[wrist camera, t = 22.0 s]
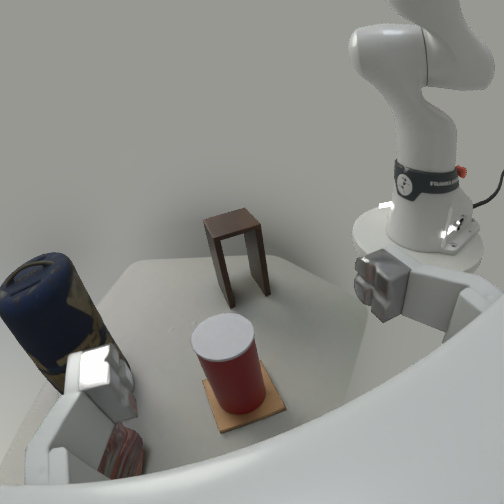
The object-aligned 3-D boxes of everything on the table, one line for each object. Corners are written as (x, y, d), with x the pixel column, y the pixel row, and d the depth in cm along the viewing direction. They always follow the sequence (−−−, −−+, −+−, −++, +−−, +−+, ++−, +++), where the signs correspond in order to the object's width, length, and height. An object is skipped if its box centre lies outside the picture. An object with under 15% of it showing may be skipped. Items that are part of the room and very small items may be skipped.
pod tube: (255, 367, 32) (241, 305, 27) (274, 404, 28) (263, 345, 23) (210, 384, 31) (185, 324, 26) (224, 422, 26) (198, 368, 22)
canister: (137, 413, 28) (49, 282, 19) (68, 423, 27) (-28, 307, 18) (135, 352, 36) (74, 229, 27) (74, 365, 35) (6, 254, 26)
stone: (114, 548, 15) (41, 525, 9) (51, 510, 17) (-18, 471, 12) (156, 447, 25) (108, 394, 20) (94, 424, 27) (44, 370, 22)
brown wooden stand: (255, 272, 48) (244, 207, 42) (271, 294, 43) (260, 223, 37) (218, 284, 47) (202, 219, 41) (230, 308, 42) (212, 238, 36)
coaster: (261, 363, 33) (260, 359, 33) (285, 409, 27) (285, 406, 27) (203, 383, 32) (202, 380, 31) (220, 433, 26) (219, 431, 26)
